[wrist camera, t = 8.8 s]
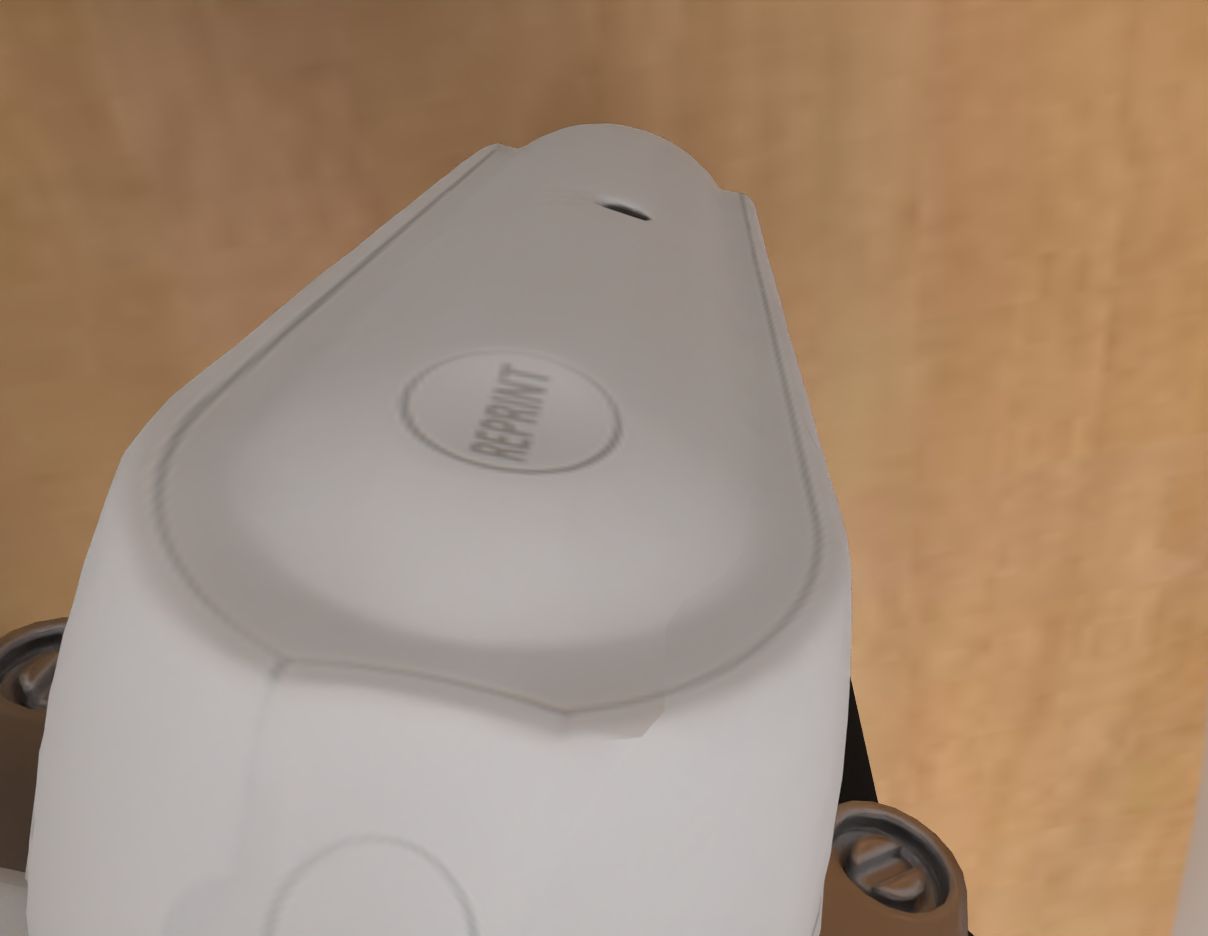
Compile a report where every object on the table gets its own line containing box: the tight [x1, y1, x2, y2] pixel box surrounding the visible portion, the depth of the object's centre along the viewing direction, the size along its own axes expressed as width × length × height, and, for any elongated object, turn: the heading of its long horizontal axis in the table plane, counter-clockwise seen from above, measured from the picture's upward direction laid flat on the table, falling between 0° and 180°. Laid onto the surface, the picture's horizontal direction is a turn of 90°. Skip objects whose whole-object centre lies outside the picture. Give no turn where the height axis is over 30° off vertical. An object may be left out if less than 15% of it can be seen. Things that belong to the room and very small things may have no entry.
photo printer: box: [25, 123, 852, 936], centre depth 10 cm, size 10×4×12 cm, turn 170°
